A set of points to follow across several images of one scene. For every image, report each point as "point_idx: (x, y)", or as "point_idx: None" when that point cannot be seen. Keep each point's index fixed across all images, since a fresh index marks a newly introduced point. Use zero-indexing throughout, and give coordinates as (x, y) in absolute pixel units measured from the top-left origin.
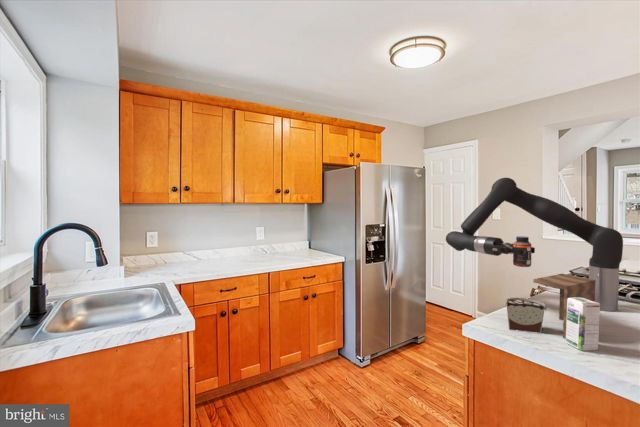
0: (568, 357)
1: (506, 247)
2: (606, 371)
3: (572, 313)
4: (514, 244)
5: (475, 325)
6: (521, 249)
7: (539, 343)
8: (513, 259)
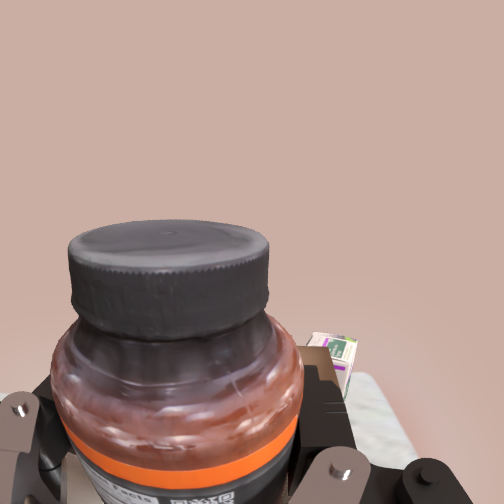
0: (385, 420)
1: (439, 470)
2: (369, 388)
3: (348, 382)
4: (290, 415)
5: None
6: (316, 374)
7: (389, 465)
8: None
